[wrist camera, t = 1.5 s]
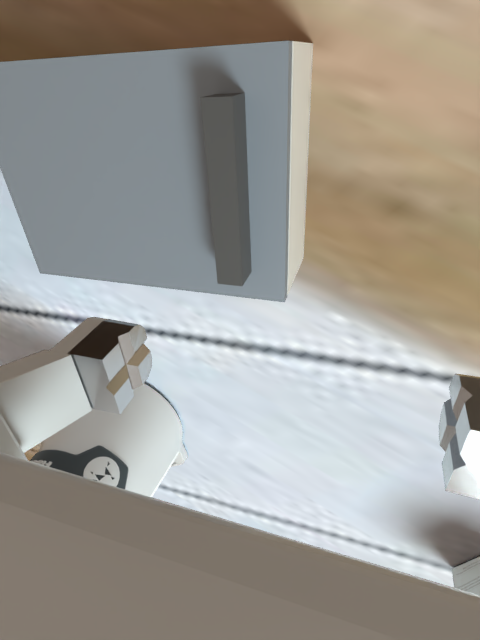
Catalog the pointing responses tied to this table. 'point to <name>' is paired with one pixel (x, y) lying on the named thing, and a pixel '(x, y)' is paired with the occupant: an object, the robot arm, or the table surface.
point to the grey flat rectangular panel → (154, 166)
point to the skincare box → (468, 576)
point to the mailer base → (298, 153)
